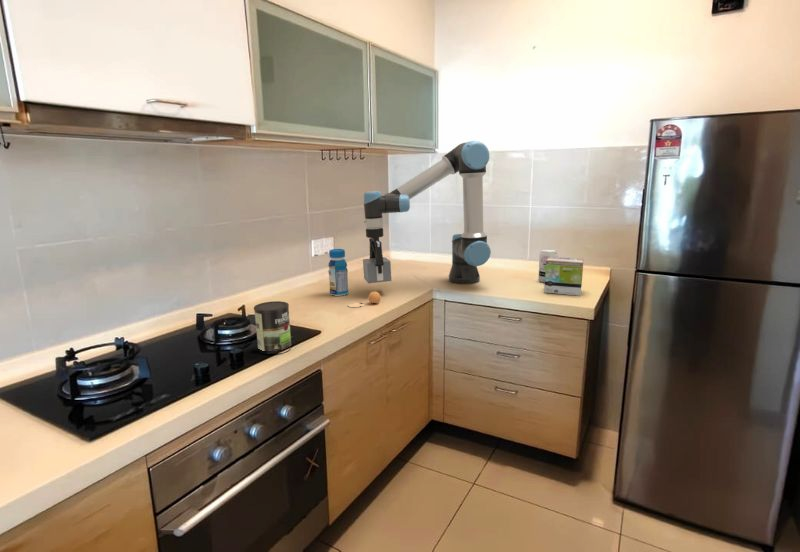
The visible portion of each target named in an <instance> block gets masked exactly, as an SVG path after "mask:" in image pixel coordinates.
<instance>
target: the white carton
mask: <svg viewBox="0 0 800 552" xmlns="http://www.w3.org/2000/svg"><path fill="white" fill-rule="evenodd" d="M548 256H549V257H559V253H558V250H556V249H551V248H550V249H549V248H548V249H545V248H544V249H541V250H540V252H539V262H538V278H537V279H538V281H539V282H540V283H543V284H545V271H546V261H547V258H548Z"/></svg>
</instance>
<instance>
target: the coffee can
mask: <svg viewBox="0 0 800 552" xmlns="http://www.w3.org/2000/svg"><path fill="white" fill-rule="evenodd" d="M289 310H290V309H289V303H288V302H285V301H279V300H276V301H267V302H261V303H258V304H256V305H254V307H253V311H254V319H255V329H256V339H257V349H260V350H262V351H277V350H283V349H286V348H288V347H290V346H291V345H292V335H291V322H290V311H289Z"/></svg>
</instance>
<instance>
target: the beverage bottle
mask: <svg viewBox="0 0 800 552" xmlns="http://www.w3.org/2000/svg"><path fill="white" fill-rule="evenodd" d="M345 256H346V251H345V249H343V248H333V249H330V250H329V258H330V260H329V262H328V265H327V266H328V280H329V294H330V295H331V296H332V295H335V296H334V297H341V296H340V295H344V296H346V295H345V294H347V295H348V294H349V281H348V278H349V277H348V273H349V272H348V271H349V270H348V267H347V266H348V263H347V261H346V259H345Z"/></svg>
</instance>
